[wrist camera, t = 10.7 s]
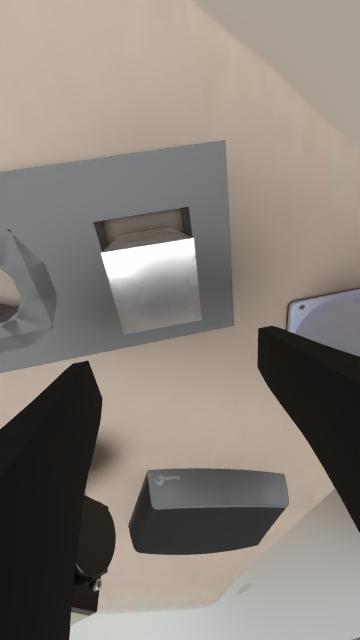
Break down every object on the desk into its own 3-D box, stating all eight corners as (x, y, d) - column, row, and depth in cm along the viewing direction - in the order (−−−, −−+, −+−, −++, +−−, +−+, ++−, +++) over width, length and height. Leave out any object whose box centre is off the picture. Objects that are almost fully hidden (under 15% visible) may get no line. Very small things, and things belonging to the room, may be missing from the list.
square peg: (170, 226, 16) (193, 238, 9) (177, 276, 18) (201, 320, 11) (119, 234, 16) (101, 253, 9) (131, 284, 17) (124, 334, 10)
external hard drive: (149, 461, 27) (150, 500, 24) (285, 467, 32) (303, 500, 28) (127, 523, 32) (125, 563, 28) (248, 520, 37) (260, 554, 33)
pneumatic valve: (10, 486, 25) (-91, 697, 14) (92, 429, 23) (49, 620, 12) (52, 504, 27) (-7, 697, 16) (129, 454, 25) (120, 632, 15)
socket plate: (209, 153, 15) (225, 140, 12) (221, 309, 19) (233, 325, 17) (-128, 202, 13) (-197, 200, 10) (-25, 358, 18) (-55, 384, 15)
